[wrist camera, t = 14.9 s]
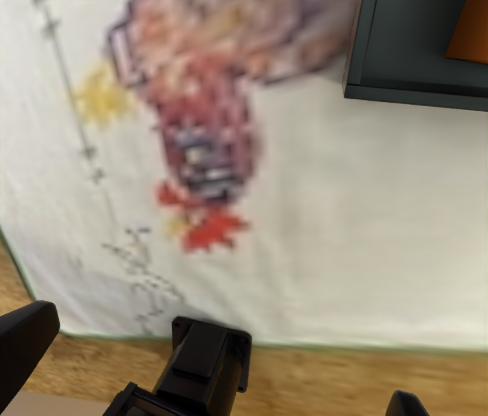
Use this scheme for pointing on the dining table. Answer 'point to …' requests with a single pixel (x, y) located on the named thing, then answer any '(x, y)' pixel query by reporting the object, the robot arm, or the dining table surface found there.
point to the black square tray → (411, 56)
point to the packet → (471, 34)
